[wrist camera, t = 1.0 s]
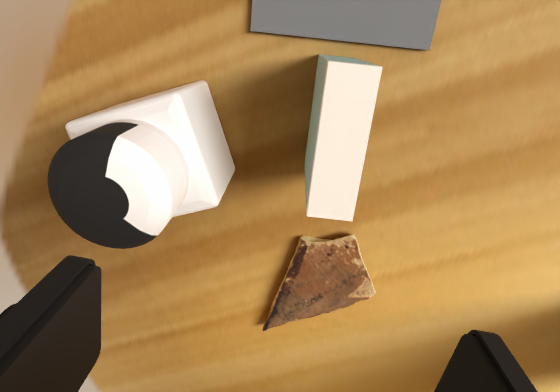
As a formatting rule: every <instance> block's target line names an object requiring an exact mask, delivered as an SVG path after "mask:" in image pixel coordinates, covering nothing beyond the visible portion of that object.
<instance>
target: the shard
mask: <svg viewBox="0 0 560 392" xmlns="http://www.w3.org/2000/svg"><path fill="white" fill-rule="evenodd" d="M375 293H376V291H375V289H374V286H373V283H372V281H371V278H370V276H369V274H368V271H367V269H366V266H365V264H364V262H363V259H362V256H361V253H360V249H359V246H358V241H357V239H356V237H355V235H354V234H351V235H348V236H345V237H342V238H337V239H335V240H329V239H319V238H314V237H309V236H302V237H300V238H299V241H298V245H297V247H296V251H295V254H294V256H293V258H292V260H291V261H290V264H289V267H288V271H287V273H286V275H285V277H284V279H283V281H282V283H281V284H280V287H279V289H278V292H277V294H276V296H275V298H274V300H273V302H272V306H271V310H270V313H269V314H268V319H267V320H266V321H265V324H264V326H263V331H265V330H267V329H270V328H273V327H276V326H281V325H283V324H286V323H288V322H292V321H296V320H300V319H304V318H310V317H314V316H317V315H320V314H323V313H329V312H332V311H335V310H337V309H341V308H345V307H348V306H350V305H353V304H355V303H356V302H359V301H362V300H366V299H369V298H371V297H372V296H373V295H374V294H375Z"/></svg>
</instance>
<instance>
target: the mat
mask: <svg viewBox="0 0 560 392" xmlns="http://www.w3.org/2000/svg"><path fill="white" fill-rule="evenodd" d="M440 3H441V0H252V13H251V29H250V31H255V32H265V33H274V34H283V35H292V36H302V37H311V38H320V39H330V40H339V41H348V42H357V43H367V44H376V45H385V46H394V47H404V48H413V49H422V50H429V49H430V45H431V41H432V37H433V33H434V28H435V24H436V20H437V16H438V12H439V7H440Z"/></svg>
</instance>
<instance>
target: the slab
mask: <svg viewBox="0 0 560 392" xmlns="http://www.w3.org/2000/svg"><path fill="white" fill-rule="evenodd" d="M381 72H382V67H381V66H378V65H375V64H371V63H368V62H365V61H362V60H359V59H356V58H349V57H340V56H330V55H321V54H319V56H318V63H317V71H316V79H315V86H314V94H313V102H312V109H311V117H310V125H309V132H308V140H307V148H306V155H305V163H304V169H305V191H306V212H307V216H309V217H318V218H327V219H336V220H345V221H352V220H353V215H354V210H355V205H356V200H357V195H358V190H359V184H360V179H361V174H362V169H363V164H364V159H365V154H366V149H367V144H368V138H369V133H370V128H371V123H372V118H373V113H374V108H375V103H376V97H377V92H378V87H379V82H380V77H381Z"/></svg>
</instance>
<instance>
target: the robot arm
mask: <svg viewBox="0 0 560 392" xmlns="http://www.w3.org/2000/svg"><path fill="white" fill-rule="evenodd" d="M100 350H101V268H100V267H97V266H95V262H94V260H92V259H87V258H82V257H76V256H71V255H70V256H67V257H66V258H64V259H63V260H62V261H61V262H60V263H59V264H58V265H57V266H56V267H55V268H54V269H53V270H52V271H50V272H49V273H48V274H47V275H46V276H45V277H44V278H43V279H42V280H41V281H40V282H39V283H38V284H37V285H36V286H35V287H34V288H33V289H31V290H30V291H29V292H28V293H27V294H26V295H25V296H24V297H23V298H22V299H21V300H20V301H19V302H18V303H16V304H13V305H11V306H10V307H8V308H7V309H6V310H4V311H3V312H2V313H1V314H0V392H78V390H79V389H80V387H81V386H82V384H83V382H84V381H85V379H86V378H87V376H88V374H89V373H90V371H91V369H92V368H93V366H94V365H95V363H96V361H97V359H98V357H99V354H100ZM434 392H537V390H536V389H535V387H534V386H533V384H532V383H531V381H530V380H529V379H528V377H527V376H526V374H525V373H524V371H523V370H522V368H521V367H520V365H519V364H518V362H517V361H516V360H515V358H514V357H513V355H512V354H511V352H510V351H509V349H508V348H507V346H506V345H505V343H504V342H503V340H502V339H501V338H500V337H499V336H498V335H497V334H495V333H489V332H484V331H478V330H471V331H470V332H469V333H468V334H464V335H463V336H462V337H461V339H460V341H459V343H458V345H457V347H456V349H455V351H454V353H453V355H452V357H451V359H450V361H449V363H448V365H447V367H446V369H445V371H444V373H443V375H442V377H441V379H440V381H439V383H438V385H437V387H436V389H435V391H434Z"/></svg>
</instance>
